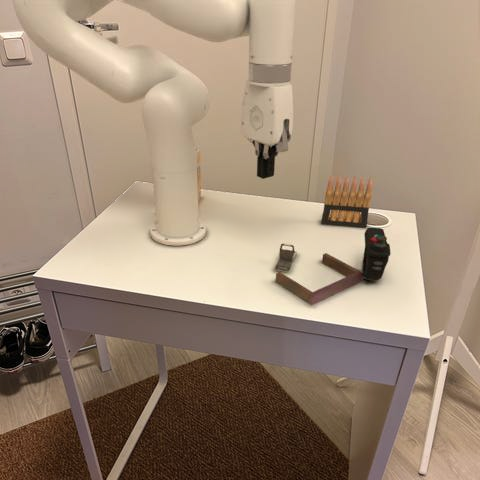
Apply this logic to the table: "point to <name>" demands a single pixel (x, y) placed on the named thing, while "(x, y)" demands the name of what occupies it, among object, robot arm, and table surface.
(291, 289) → the frame
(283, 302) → the table surface
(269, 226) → the table surface
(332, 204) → the ammunition clip
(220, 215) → the table surface
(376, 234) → the controller
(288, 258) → the strap clip
